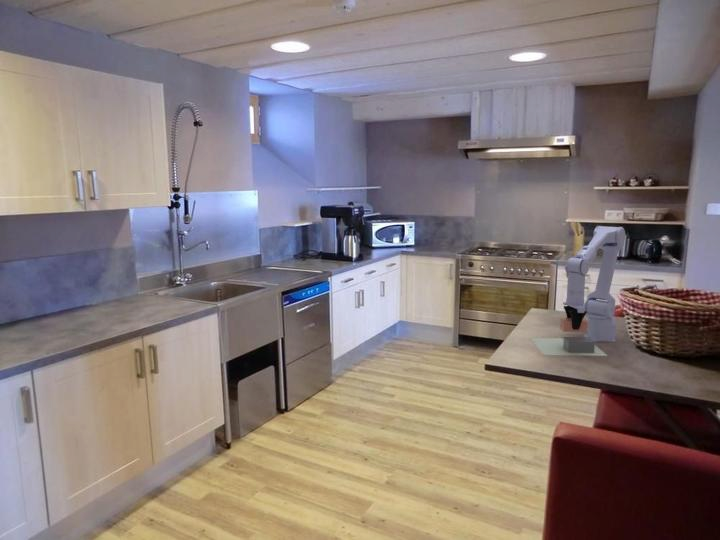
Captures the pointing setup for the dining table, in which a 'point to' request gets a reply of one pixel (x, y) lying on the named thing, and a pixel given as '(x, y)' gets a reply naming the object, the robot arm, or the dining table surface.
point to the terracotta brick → (567, 325)
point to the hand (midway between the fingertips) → (573, 327)
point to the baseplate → (559, 347)
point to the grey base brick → (578, 344)
